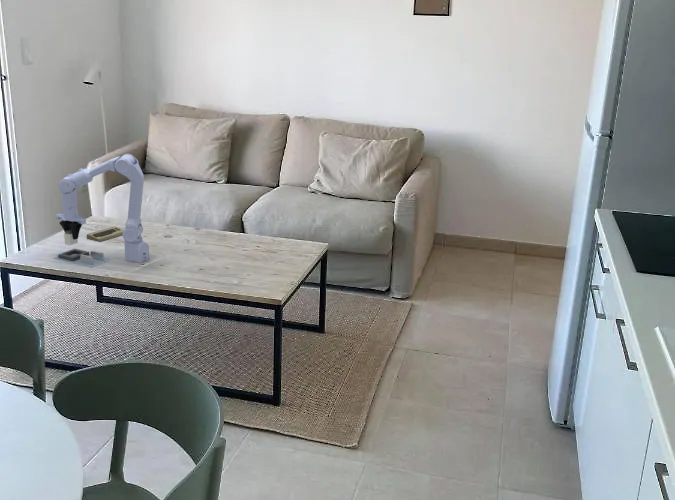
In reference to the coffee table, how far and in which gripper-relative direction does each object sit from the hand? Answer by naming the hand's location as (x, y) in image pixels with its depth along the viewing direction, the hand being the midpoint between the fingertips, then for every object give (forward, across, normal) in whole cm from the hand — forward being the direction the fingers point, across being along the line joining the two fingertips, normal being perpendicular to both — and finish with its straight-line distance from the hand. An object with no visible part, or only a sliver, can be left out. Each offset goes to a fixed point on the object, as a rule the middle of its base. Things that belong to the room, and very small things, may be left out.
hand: (72, 238), depth 297 cm
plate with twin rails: (+8, +10, 0) cm, 13 cm away
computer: (+10, -10, +29) cm, 33 cm away
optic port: (+8, 0, 0) cm, 8 cm away
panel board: (+9, +5, 0) cm, 10 cm away
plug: (+2, 0, -1) cm, 2 cm away
